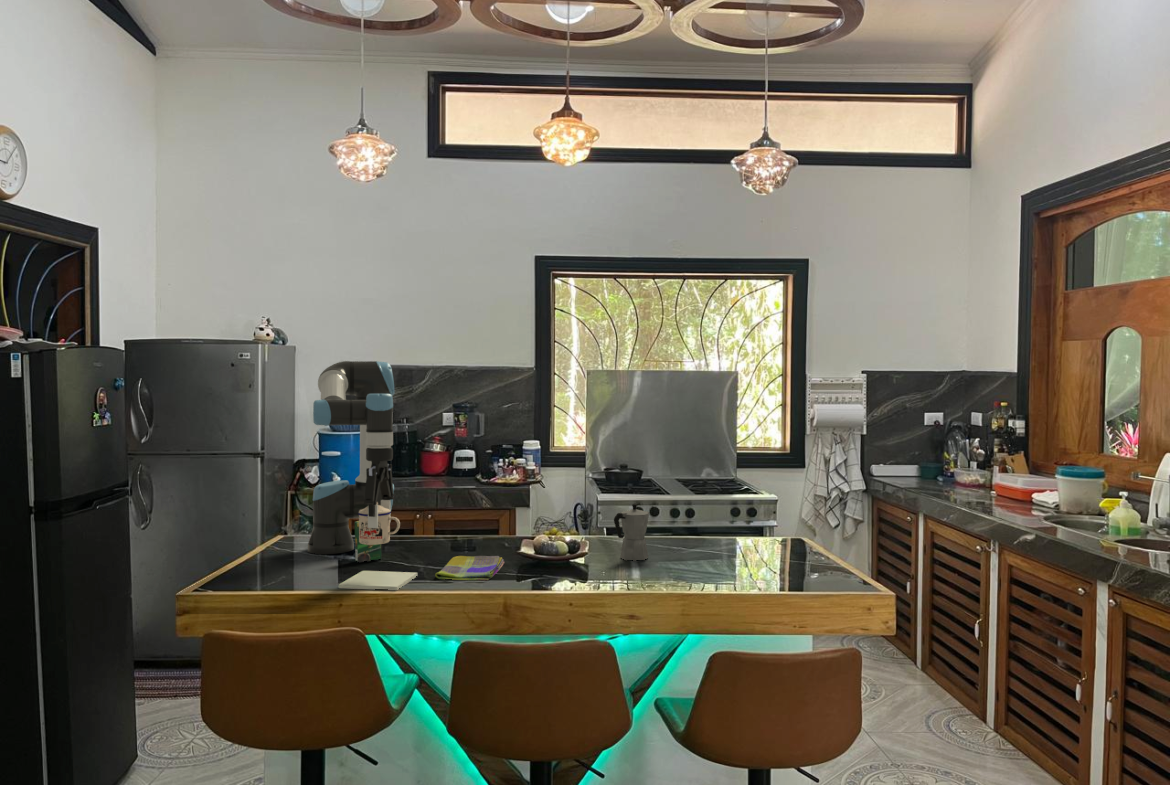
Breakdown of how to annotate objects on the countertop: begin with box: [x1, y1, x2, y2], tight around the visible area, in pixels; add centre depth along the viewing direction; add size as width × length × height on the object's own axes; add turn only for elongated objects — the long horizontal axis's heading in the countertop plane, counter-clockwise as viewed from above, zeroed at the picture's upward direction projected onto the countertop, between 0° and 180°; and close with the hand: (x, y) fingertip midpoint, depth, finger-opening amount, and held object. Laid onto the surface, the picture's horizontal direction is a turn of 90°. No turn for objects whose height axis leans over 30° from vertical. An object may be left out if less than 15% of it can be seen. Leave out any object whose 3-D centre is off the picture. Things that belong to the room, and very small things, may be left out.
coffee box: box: [354, 520, 382, 563], centre depth 264 cm, size 8×3×13 cm, turn 121°
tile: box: [338, 570, 418, 591], centre depth 237 cm, size 17×17×1 cm
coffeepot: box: [613, 503, 651, 562], centre depth 269 cm, size 15×9×18 cm, turn 129°
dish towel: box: [434, 555, 505, 582], centre depth 252 cm, size 18×24×3 cm
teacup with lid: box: [358, 502, 401, 545], centre depth 236 cm, size 12×9×12 cm
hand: (379, 524), depth 236 cm, fingers closed on teacup with lid, 9 cm apart
